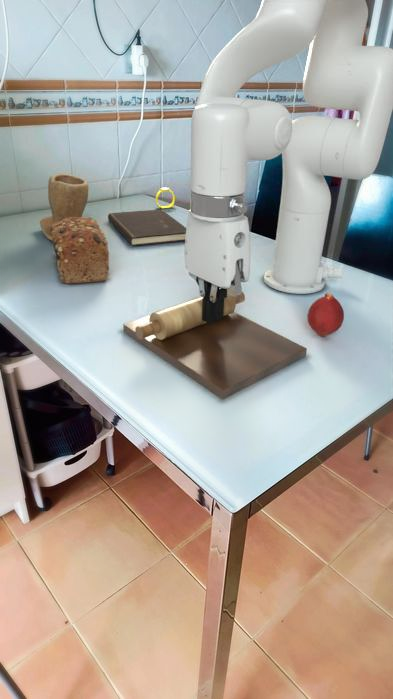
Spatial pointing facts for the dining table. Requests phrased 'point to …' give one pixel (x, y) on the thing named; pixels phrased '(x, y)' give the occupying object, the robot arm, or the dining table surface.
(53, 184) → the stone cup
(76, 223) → the bread
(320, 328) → the onion
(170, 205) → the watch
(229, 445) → the dining table surface
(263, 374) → the pastry board
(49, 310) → the dining table surface
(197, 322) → the rolling pin
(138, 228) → the hardcover book
